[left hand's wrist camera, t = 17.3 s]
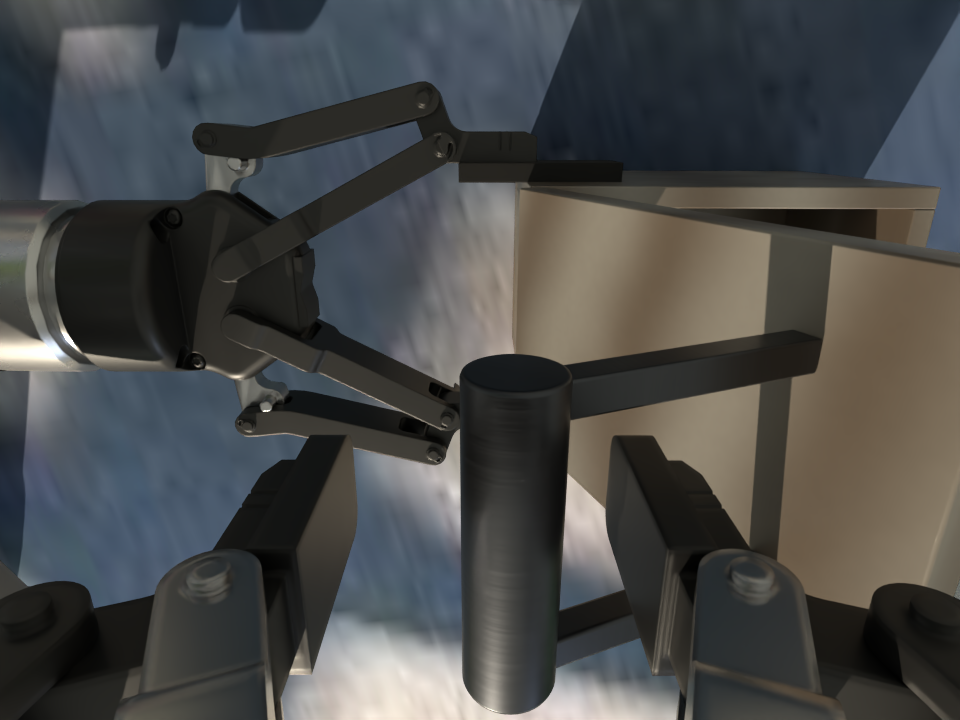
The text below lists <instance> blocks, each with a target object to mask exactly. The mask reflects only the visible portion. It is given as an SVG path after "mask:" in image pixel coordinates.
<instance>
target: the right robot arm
mask: <svg viewBox="0 0 960 720" xmlns="http://www.w3.org/2000/svg"><path fill="white" fill-rule="evenodd" d="M414 121H417V123H418V126H419V129H420V131H421V134H422V137H423V140H421V141H420V142H418V143H416V144H414V145H413V146H411V147H409V148H407V149H406V150H404V151H402V152H400V153H398V154H397V155H395V156H393V157H391V158H390V159H388V160H386V161H384V162H382V163H381V164H379V165H377V166H375V167H374V168H372V169H370V170H368V171H367V172H365V173H363V174H361V175H359V176H358V177H356V178H354V179H352V180H351V181H349V182H347V183H345V184H343V185H342V186H340V187H338V188H336V189H335V190H333V191H331V192H329V193H328V194H326V195H324V196H322V197H320V198H319V199H317V200H315V201H313V202H312V203H310V204H308V205H306V206H305V207H303V208H301V209H299V210H297V211H295V212H293V213H291V214H289V215H288V216H286V217H284V218H282V219H281V220H280V219H278V218H277V217H275V216H274V215H272V214H271V213H270V212H268V211H267V210H265V209H264V208H262V207H261V206H259V205H258V204H256V203H255V202H253V201H252V200H250V199H249V198H248V197H246V196H245V195H243V194H242V193H240V192H238V187H239V184H240V182H241V181H242V180H243V179H244V178H246V177H250V176H255V175H257V174H258V173H259V172H260V171H261V169H262V167H263V158H269V157H279V156H284V155H289V154H294V153H297V152H301V151H305V150H309V149H312V148H316V147H320V146H324V145H327V144H331V143H335V142H339V141H342V140H346V139H350V138H354V137H357V136H361V135H365V134H369V133H372V132H376V131H380V130H384V129H387V128H391V127H395V126H399V125H402V124H406V123H410V122H414ZM192 139H193V143H194V145H195V146H196V148H197V149H198V150H199V151H200V152H201V153H203V154H205V168H206V191H204V192H202V193H201V194H199V195H197V196H196V197H194V198H193V199H190V200H99V201H95V202H91V203H90V204H88V203H85V202H82V201H79V200H0V371H7V370H8V371H68V372H87V371H96V370H98V369H101V368H102V369H105V370H108V371H196V370H208V371H212V372H215V373H218V374H221V375H223V376H225V377H227V378H229V379H232V380H234V381H235V385H236V389H237V393H238V396H239V400H240V404H241V408H242V413H241V414H240V415H239V416H238V417H237V419H236V421H235V427H236V429H237V431H238V432H239V433H240V434H242V435H244V436H246V437H255V436H266V435H276V434H291V435H295V436H300V437H305V438H308V437H309V436H310V435H350V437H351V440H352V446H353V448H355V449H360V450H364V451H369V452H373V453H378V454H383V455H387V456H392V457H396V458H401V459H405V460H410V461H415V462H419V463H424V464H428V465H438V464H440V463H442V462H443V461H444V459H445V457H446V452H447V449H448V446H449V444H450V441H451V439H452V436H453V435H454V433H455V432H456V431H457V430H459V429H460V387H459V385H457V384H456V383H455V384H454V388H452V387H450V386H448V385H446V384H444V383H442V382H440V381H438V380H436V379H434V378H432V377H430V376H428V375H425V374H423V373H421V372H419V371H417V370H415V369H413V368H411V367H409V366H407V365H405V364H403V363H401V362H398V361H396V360H394V359H392V358H390V357H388V356H386V355H384V354H382V353H380V352H378V351H376V350H374V349H371V348H369V347H367V346H365V345H363V344H361V343H359V342H357V341H355V340H353V339H351V338H349V337H347V336H344V335H342V334H341V333H340V332H339V331H338V330H337V329H336V328H335V327H334V326H332V325H330V324H328V323H326V322H324V321H322V320H320V319H318V318H317V317H318V316H319V315H320V312H319V301H318V297H317V294H316V291H315V289H314V286H313V283H312V280H313V275H314V269H315V258H314V249H310V248H309V246H308V244H307V242H306V241H307V240H309V239H311V238H312V237H314V236H316V235H318V234H319V233H321V232H323V231H325V230H327V229H329V228H330V227H332V226H334V225H336V224H338V223H339V222H341V221H343V220H345V219H347V218H348V217H350V216H352V215H354V214H356V213H357V212H359V211H361V210H363V209H365V208H366V207H368V206H370V205H372V204H374V203H375V202H377V201H379V200H381V199H383V198H385V197H386V196H388V195H390V194H392V193H394V192H395V191H397V190H399V189H401V188H403V187H404V186H406V185H408V184H410V183H412V182H413V181H415V180H417V179H419V178H421V177H422V176H424V175H426V174H428V173H430V172H431V171H433V170H435V169H437V168H439V167H441V166H442V165H444V164H446V163H459V182H497V183H527V182H622V172H623V163H621V162H616V161H611V160H536V157H537V137H536V136H534V135H531V134H529V133H527V132H466V131H461V130H459V129H457V128H456V127H454V125H453V124H452V123H451V121H450V119H449V116H448V114H447V111H446V108H445V105H444V102H443V99H442V96H441V94H440V92H439V91H438V90H437V89H436V88H435V87H434V86H433V85H432V84H431V83H428V82H426V81H425V82H417V83H413V84H409V85H406V86H402V87H398V88H395V89H391V90H387V91H384V92H380V93H376V94H373V95H369V96H365V97H362V98H358V99H354V100H351V101H347V102H343V103H339V104H336V105H332V106H328V107H325V108H321V109H317V110H314V111H310V112H306V113H303V114H299V115H295V116H292V117H288V118H284V119H281V120H277V121H273V122H270V123H266V124H262V125H259V126H255V127H253V126H244V125H236V124H222V123H201V124H199V125H198V126H196V127H195V129H194V131H193V135H192ZM277 359H279V360H281V361H283V362H285V363H287V364H289V365H292V366H294V367H296V368H298V369H300V370H302V371H305V372H309V373H320V374H323V375H325V376H327V377H329V378H331V379H333V380H335V381H338V382H340V383H342V384H344V385H346V386H348V387H350V388H353V389H355V390H357V391H359V392H361V393H363V394H365V395H368V396H370V397H372V398H374V399H376V400H378V401H380V402H383V403H385V404H387V405H389V406H391V407H393V408H395V409H398V410H400V411H402V412H399V411H394V410H390V409H386V408H381V407H377V406H372V405H368V404H363V403H359V402H354V401H350V400H345V399H341V398H337V397H332V396H328V395H323V394H319V393H314V392H309V391H299V390H289V391H288V389H287V386H286V384H285V383H283V382H274V381H270V380H268V379H267V378H266V377H265V376H264V375H263V374H262V370H264V369H265V368H266V367H268V366H269V365H271V364H272V363H273V362H275V361H276V360H277ZM403 412H404V413H403ZM27 587H31V586H27V585H26V584H24V583H23V582H22V581H21V580H20V579H19V578H18V577H17V576H16V575H15V574H14V573H13V572H12V571H11V570H10V569H9V568H8V567H7V566H5V565H4V564H3V563H2V562H1V561H0V599H2V598H4V597H6V596H8V595H10V594H12V593H14V592H17V591H19V590H22V589H24V588H27Z"/></svg>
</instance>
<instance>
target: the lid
mask: <svg viewBox="0 0 960 720" xmlns="http://www.w3.org/2000/svg"><path fill="white" fill-rule="evenodd" d="M614 435H653V436H654V437H655V439H656V441H657V442H658V444H659V446H660V448H661V449H662V451H663V453H664V455H665V456H666V458H667V460H682V461H683V462H685V463H686V464H688V465H689V466H690V467H692V468H693V469H695V470H696V471H698V472H699V473H700V474H702V475H703V477H704V478H705V480H706V482H707V483H708V485H709V486H710V488H711V489H712V491H713V494H715V495H716V497H717V498H718V500H719V501H720V503H721V504H722V509H725V511H726V512H727V514H728V515H729V517H730V518H731V520H732V521H733V523H734V524H735V526H736V527H737V529H738V530H739V532H740V534H741V535H742V537H743V538H744V540H745V541H746V543H747V544H748V546H749V547H750V549H751V550H752V552H756V553H759V554H762V555H765V556H767V557H770V558H772V559H774V560H776V561H777V562H779V563H781V564H783V565H784V566H785V567H787V568H788V569H789V570H790V571H792V572H793V573H794V574H795V575H796V577H797V578H798V579H799V580H800V582H801V584H802V585H803V588H804V591H805V594H808V595H810V596H813V597H817V598H821V599H825V600H829V601H834V602H838V603H843V604H848V605H852V606H857V607H861V608H866V609H869V606H870V603H871V599H872V596H873V593H874V592H875V591H876V590H877V589H878V588H879V587H881V586H883V585H887V584H892V583H909V584H916V585H921V586H926V587H929V588H932V589H936V590H938V591H941V592H944V593H946V594H948V595H951V596H953V597H954V595H955V592H956V589H957V586H958V583H959V580H960V253H956V252H949V251H943V250H937V249H930V248H924V247H918V246H911V245H905V244H899V243H893V242H886V241H880V240H874V239H867V238H861V237H855V236H849V235H842V234H836V233H830V232H823V231H817V230H811V229H805V228H798V227H792V226H786V225H779V224H773V223H767V222H760V221H754V220H748V219H742V218H735V217H729V216H723V215H716V214H710V213H704V212H698V211H691V210H685V209H679V208H672V207H666V206H660V205H653V204H647V203H641V202H635V201H628V200H622V199H616V198H609V197H603V196H597V195H591V194H584V193H578V192H572V191H565V190H559V189H553V188H546V187H531V188H520V204H519V245H518V286H517V327H516V354H501V355H494V356H488V357H483V358H480V359H477V360H474V361H472V362H470V363H468V364H467V365H466V366H465V367H464V368H463V369H462V371H461V373H460V474H461V579H462V674H463V681H464V684H465V687H466V689H467V691H468V692H469V694H470V695H471V696H472V698H473V699H474V700H475V701H476V702H477V703H478V704H480V705H481V706H483V707H484V708H486V709H488V710H490V711H493V712H496V713H500V714H510V715H512V714H521V713H525V712H528V711H531V710H533V709H535V708H537V707H538V706H540V705H541V704H542V703H543V702H544V701H545V700H546V699H547V698H548V696H549V695H550V693H551V691H552V689H553V687H554V683H555V673H556V668H558V667H560V666H563V665H566V664H569V663H572V662H574V661H577V660H580V659H583V658H585V657H588V656H591V655H594V654H597V653H599V652H602V651H605V650H608V649H611V648H613V647H616V646H619V645H622V644H624V643H627V642H630V641H633V640H636V639H638V638H640V635H639V632H638V629H637V625H636V622H635V619H634V616H633V613H632V610H631V607H630V604H629V600H628V597H627V594H626V591H625V590H622V591H619V592H616V593H612V594H609V595H606V596H603V597H600V598H597V599H594V600H591V601H588V602H584V603H581V604H578V605H575V606H572V607H569V608H566V609H563V610H560V611H559V606H560V589H561V572H562V556H563V539H564V522H565V505H566V489H567V473H568V474H569V475H570V476H571V477H572V478H573V479H574V480H575V481H577V482H578V483H579V484H580V485H581V486H582V487H583V488H584V489H585V490H586V491H587V492H588V493H589V494H590V495H591V496H593V497H594V498H595V499H596V500H597V501H598V502H599V503H600V504H601V505H602V506H603V507H604V508H605V509H606V495H607V483H608V471H609V459H610V447H611V441H612V438H613V436H614Z"/></svg>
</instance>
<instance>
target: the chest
mask: <svg viewBox="0 0 960 720" xmlns="http://www.w3.org/2000/svg"><path fill="white" fill-rule="evenodd" d="M531 187H546V188H553V189H559V190H565V191H572V192H578V193H584V194H591V195H597V196H603V197H609V198H616V199H622V200H628V201H635V202H641V203H647V204H653V205H660V206H666V207H672V208H679V209H685V210H691V211H698V212H704V213H710V214H716V215H723V216H729V217H735V218H742V219H748V220H754V221H760V222H767V223H773V224H779V225H786V226H792V227H798V228H805V229H811V230H817V231H823V232H830V233H836V234H842V235H849V236H855V237H861V238H867V239H874V240H880V241H886V242H893V243H899V244H905V245H911V246H918V247H924V248H926V244H927V240H928V236H929V232H930V228H931V224H932V220H933V216H934V212H935V210H934V209H935V208H936V205H937V201H938V197H939V193H940V189H941V188H940V187H934V186H925V185H916V184H908V183H899V182H891V181H882V180H873V179H865V178H856V177H847V176H839V175H830V174H821V173H813V172H803V171H623V172H622V182H527V183H516V186H515V232H514V277H513V323H512V338H513V346H514V352H515V354H516V327H517V286H518V245H519V204H520V188H531Z"/></svg>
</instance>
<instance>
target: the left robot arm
mask: <svg viewBox="0 0 960 720" xmlns="http://www.w3.org/2000/svg"><path fill="white" fill-rule="evenodd" d="M356 526H357V494H356V482H355V469H354V457H353V446H352V440H351V437H350V435H310V436H309V437H308V439H307V441H306V443H305V444H304V446H303V448H302V450H301V451H300V453H299V455H298V457H297V458H296V460H281V461H279V462H278V463H276V464H275V465H274V466H272V467H271V468H269V469H268V470H267V471H265V472H264V473H262V474H261V476H260V477H259V479H258V480H257V482H256V483H255V485H254V487H253V488H252V490H251V494H248V496H247V497H246V499H245V501H244V502H243V504H242V508H239V510H238V511H237V513H236V515H235V516H234V518H233V519H232V521H231V522H230V524H229V525H228V527H227V529H226V530H225V532H224V533H223V535H222V536H221V538H220V539H219V541H218V542H217V544H216V546H215V547H214V549H213V550H212V551H208V552H204V553H201V554H198V555H195V556H193V557H190V558H188V559H186V560H184V561H183V562H181V563H179V564H177V565H176V566H175V567H173V568H172V569H171V570H170V571H168V572H167V573H166V574H165V575H164V577H163V578H162V579H161V580H160V582H159V584H158V585H157V588H156V591H155V594H154V595H151V596H148V597H144V598H140V599H135V600H131V601H126V602H122V603H117V604H112V605H108V606H103V607H99V608H94V607H93V603H92V599H91V596H90V593H89V591H88V589H87V588H86V587H85V586H83V585H81V584H79V583H75V582H69V581H54V582H47V583H42V584H38V585H34V586H31V587H27V588H24V589H22V590H19V591H17V592H14V593H12V594H10V595H8V596H6V597H4V598H2V599H0V720H284V715H283V706H282V700H281V696H282V693H283V690H284V687H285V685H286V682H287V679H288V676H289V675H312V672H313V669H314V666H315V662H316V659H317V656H318V653H319V650H320V646H321V643H322V640H323V637H324V634H325V630H326V627H327V624H328V621H329V617H330V614H331V611H332V608H333V605H334V601H335V598H336V595H337V592H338V589H339V585H340V582H341V579H342V576H343V573H344V569H345V566H346V563H347V560H348V557H349V553H350V550H351V547H352V544H353V541H354V537H355V533H356ZM606 527H607V533H608V537H609V541H610V544H611V547H612V550H613V553H614V557H615V560H616V563H617V566H618V569H619V572H620V575H621V578H622V582H623V585H624V588H625V591H626V594H627V597H628V600H629V604H630V607H631V610H632V613H633V616H634V619H635V622H636V625H637V629H638V632H639V635H640V638H641V641H642V644H643V647H644V651H645V654H646V657H647V660H648V663H649V666H650V669H651V673H652V676H676V679H677V681H678V684H679V687H680V693H679V700H678V706H677V715H676V720H960V600H959V599H957V598H955V597H953V596H951V595H948V594H946V593H944V592H941V591H938V590H936V589H932V588H929V587H926V586H921V585H916V584H909V583H892V584H887V585H883V586H881V587H879V588H878V589H877V590H876V591H875V592H874V593H873V596H872V599H871V603H870V606H869V609H866V608H861V607H857V606H852V605H848V604H843V603H838V602H834V601H829V600H825V599H821V598H817V597H813V596H810V595H808V594H805V591H804V588H803V585H802V584H801V582H800V580H799V579H798V578H797V577H796V575H795V574H794V573H793V572H792V571H790V570H789V569H788V568H787V567H785V566H784V565H783V564H781V563H779V562H777V561H776V560H774V559H772V558H770V557H767V556H765V555H762V554H759V553H756V552H752V550H751V549H750V547H749V546H748V544H747V543H746V541H745V540H744V538H743V537H742V535H741V534H740V532H739V530H738V529H737V527H736V526H735V524H734V523H733V521H732V520H731V518H730V517H729V515H728V514H727V512H726V511H725V509H722V504H721V503H720V501H719V500H718V498H717V497H716V495H715V494H713V491H712V489H711V488H710V486H709V485H708V483H707V482H706V480H705V478H704V477H703V475H702V474H700V473H699V472H698V471H696V470H695V469H693V468H692V467H690V466H689V465H688V464H686V463H685V462H683V461H682V460H667V458H666V456H665V455H664V453H663V451H662V449H661V448H660V446H659V444H658V442H657V441H656V439H655V437H654V436H653V435H614V436H613V438H612V441H611V447H610V459H609V471H608V483H607V495H606Z"/></svg>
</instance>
